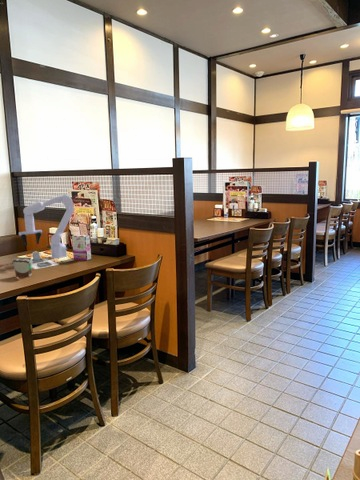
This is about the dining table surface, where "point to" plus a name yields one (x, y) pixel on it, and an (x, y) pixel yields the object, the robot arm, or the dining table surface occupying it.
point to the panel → (43, 263)
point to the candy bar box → (81, 247)
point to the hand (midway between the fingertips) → (31, 244)
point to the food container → (23, 266)
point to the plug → (36, 256)
